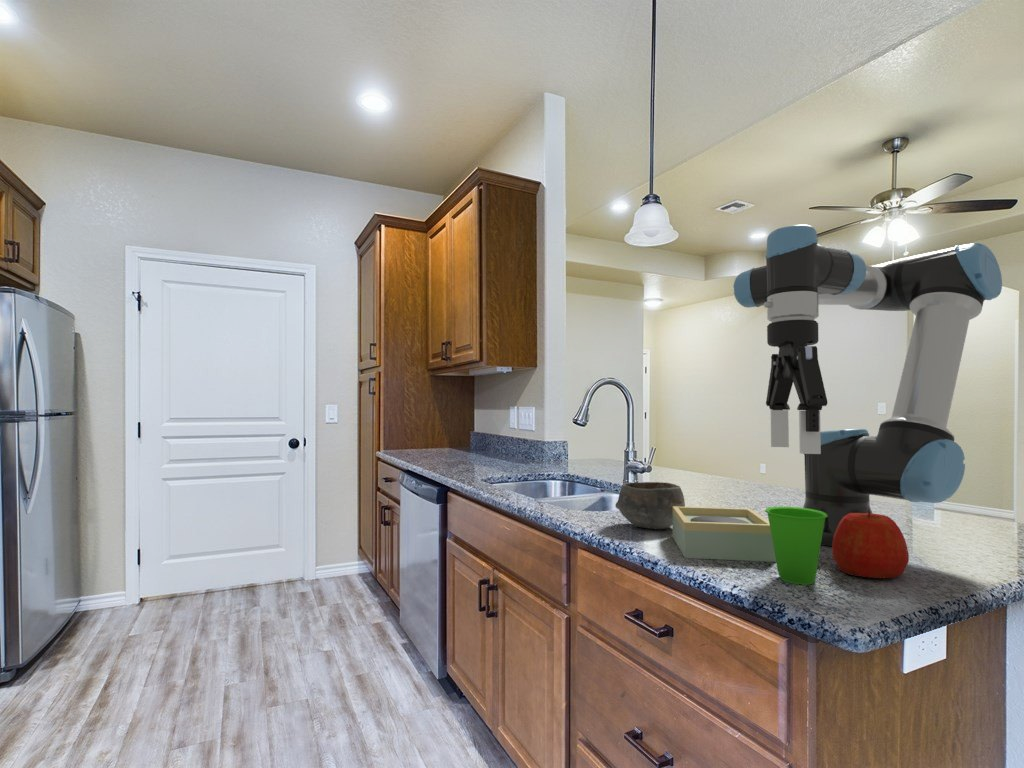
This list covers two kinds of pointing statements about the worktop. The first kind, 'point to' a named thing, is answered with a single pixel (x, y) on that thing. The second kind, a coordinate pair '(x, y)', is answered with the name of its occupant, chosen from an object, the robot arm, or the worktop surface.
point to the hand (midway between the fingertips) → (793, 450)
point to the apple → (869, 546)
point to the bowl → (649, 503)
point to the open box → (722, 534)
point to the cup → (796, 542)
